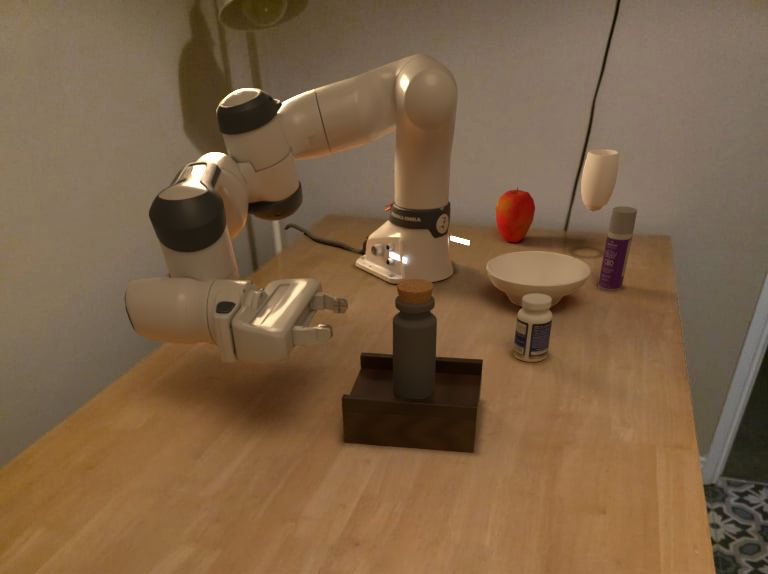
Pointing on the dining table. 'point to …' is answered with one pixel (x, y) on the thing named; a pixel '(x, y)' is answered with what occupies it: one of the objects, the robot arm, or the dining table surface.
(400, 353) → the bottle
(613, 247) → the container
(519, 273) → the bowl
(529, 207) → the apple
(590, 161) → the cup
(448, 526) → the dining table surface
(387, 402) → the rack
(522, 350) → the pill bottle
